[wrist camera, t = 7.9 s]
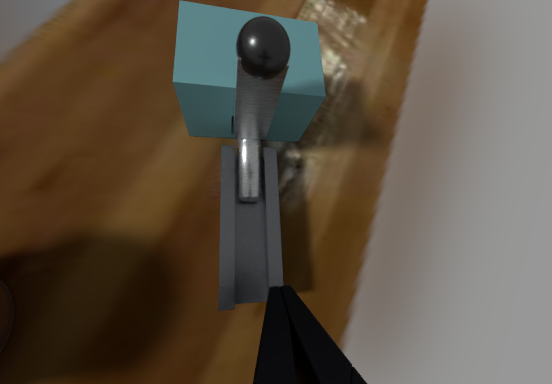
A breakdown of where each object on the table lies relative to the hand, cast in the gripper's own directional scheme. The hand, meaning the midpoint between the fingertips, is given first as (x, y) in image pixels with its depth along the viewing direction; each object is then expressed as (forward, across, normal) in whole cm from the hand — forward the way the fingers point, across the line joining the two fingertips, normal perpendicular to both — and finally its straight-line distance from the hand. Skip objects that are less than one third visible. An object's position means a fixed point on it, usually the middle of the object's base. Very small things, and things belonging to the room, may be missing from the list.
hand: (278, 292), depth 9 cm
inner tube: (+18, 0, 0) cm, 18 cm away
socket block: (+22, 0, -3) cm, 23 cm away
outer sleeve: (+14, 0, +6) cm, 15 cm away
